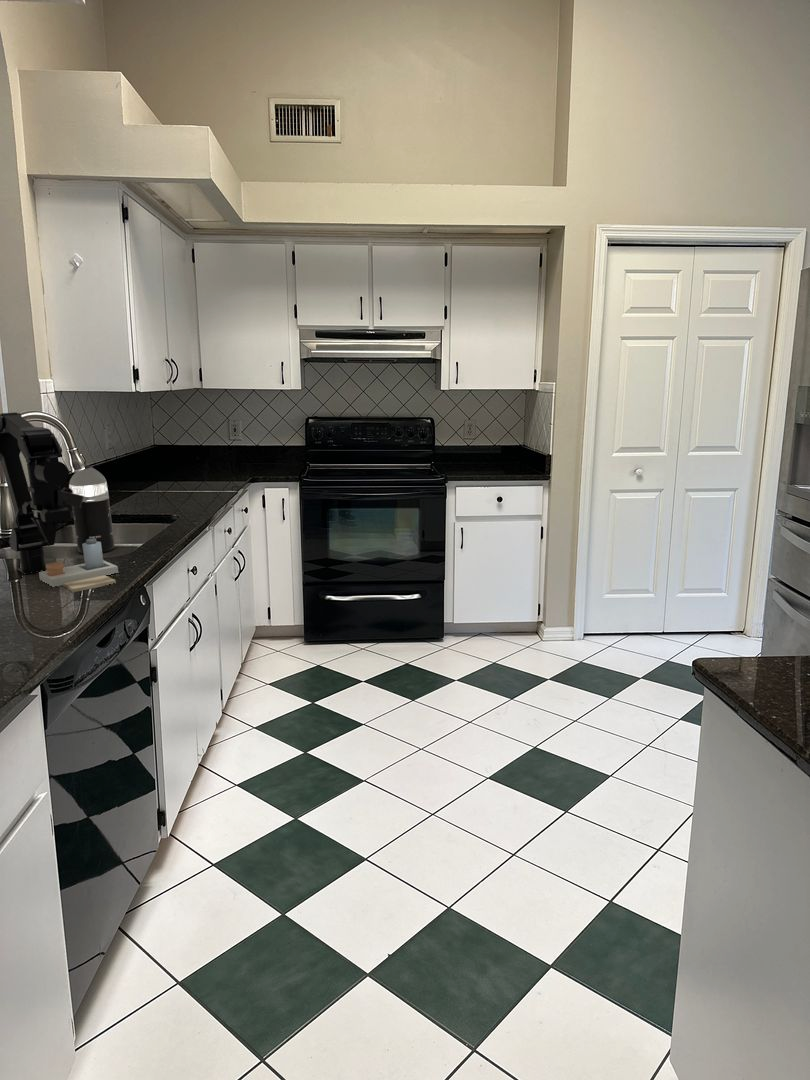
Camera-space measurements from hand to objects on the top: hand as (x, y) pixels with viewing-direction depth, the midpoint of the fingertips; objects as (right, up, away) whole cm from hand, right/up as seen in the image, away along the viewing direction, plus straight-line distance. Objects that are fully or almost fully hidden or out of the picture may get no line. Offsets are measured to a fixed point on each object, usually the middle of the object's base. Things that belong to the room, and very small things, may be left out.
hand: (51, 545), depth 184 cm
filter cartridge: (+7, -7, +8) cm, 13 cm away
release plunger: (0, -8, +2) cm, 8 cm away
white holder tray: (+5, -8, +6) cm, 11 cm away
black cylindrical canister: (-3, -2, +34) cm, 34 cm away
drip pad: (+10, -10, -2) cm, 14 cm away
